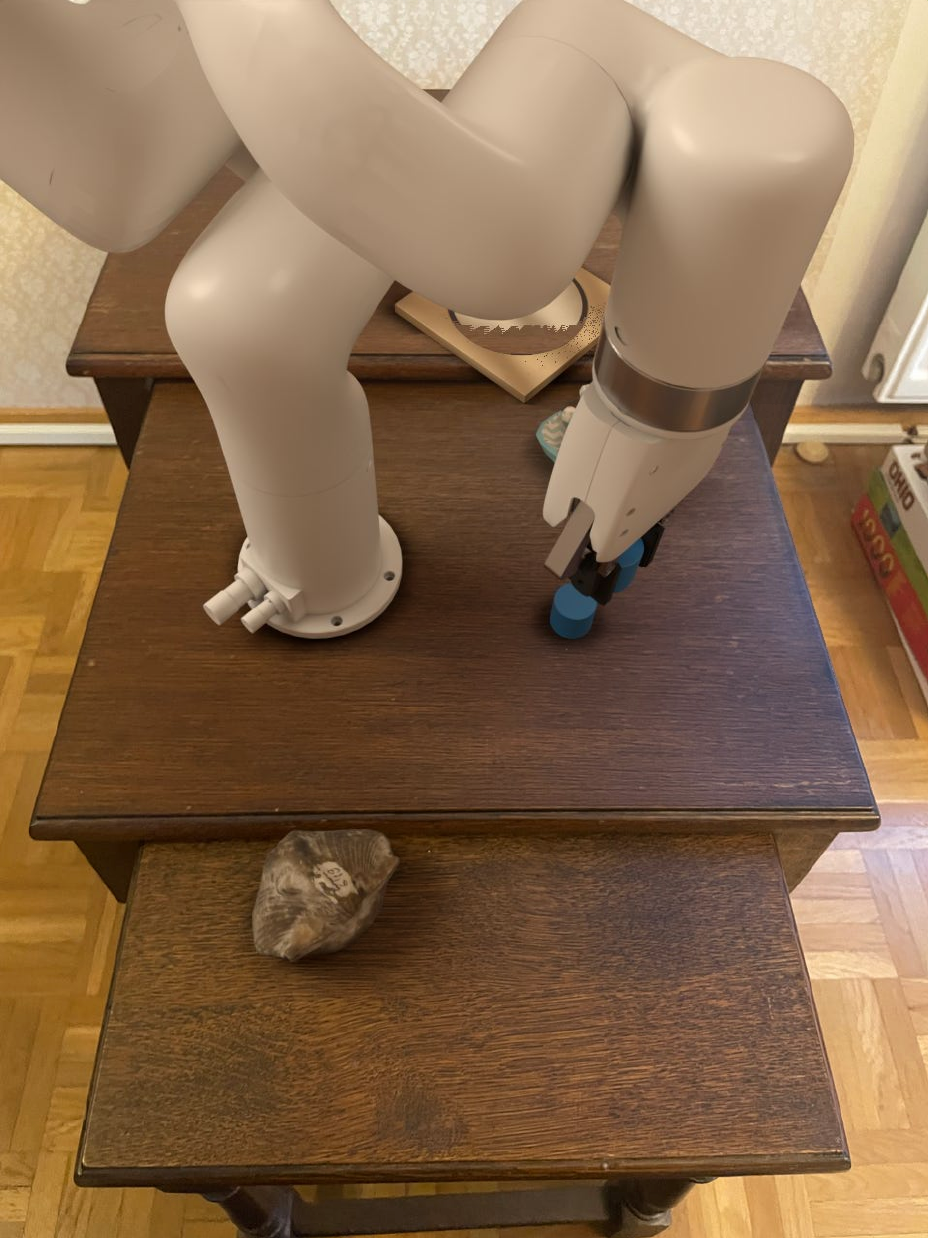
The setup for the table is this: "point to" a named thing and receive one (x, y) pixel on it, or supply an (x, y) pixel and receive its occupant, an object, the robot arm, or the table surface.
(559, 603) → the eye peg
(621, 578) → the eye peg
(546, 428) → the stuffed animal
